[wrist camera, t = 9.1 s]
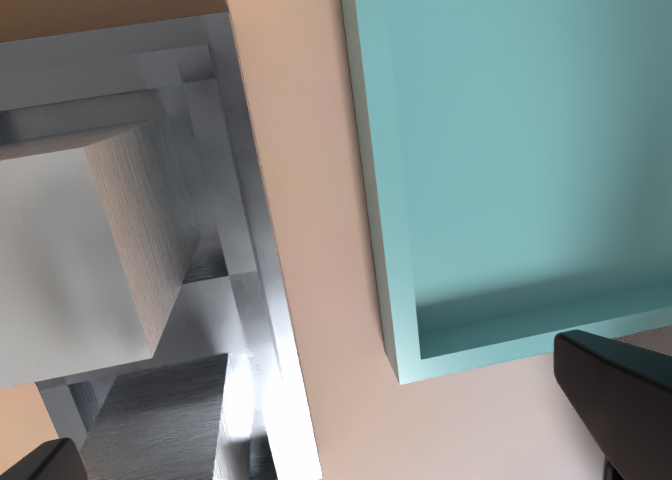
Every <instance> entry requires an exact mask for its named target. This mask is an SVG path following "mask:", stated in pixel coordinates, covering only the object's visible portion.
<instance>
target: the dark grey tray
mask: <svg viewBox="0 0 672 480" xmlns="http://www.w3.org/2000/svg"><path fill="white" fill-rule="evenodd" d="M164 117H168V119H169V123H170V126H171V130H172V134H173V138H174V142H175V146H176V149H177V153H178V157H179V161H180V165H181V169H182V173H183V176H184V180H185V184H186V188H187V192H188V196H189V199H190V203H191V207H192V211H193V215H194V219H195V223H196V226H197V230H198V234H199V238H200V241H199V243H198V246H197V248H196V251H195V253H194V256H193V258H192V261H191V263H190V265H189V268H188V270H187V273H186V275H185V278H184V280H183V283H182V285H181V288H180V290H179V293H178V295H177V298H176V300H175V303H174V305H173V308H172V310H171V313H170V315H169V318H168V320H167V323H166V325H165V328H164V330H163V333H162V335H161V338H160V340H159V343H158V345H157V348H156V350H155V353H154V355H153V358H150V359H145V360H140V361H135V362H130V363H126V364H121V365H116V366H111V367H106V368H101V369H96V370H91V371H86V372H82V373H77V374H72V375H67V376H62V377H57V378H52V379H47V380H42V381H37V382H35V383H36V386H37V388H38V390H39V392H40V395H41V397H42V399H43V402H44V404H45V406H46V409H47V411H48V413H49V415H50V418H51V420H52V422H53V425H54V427H55V429H56V432H57V434H58V436H59V439H60V438H65V437H68V438H71V439H72V440H73V441H74V443H75V445H76V447H77V449H78V452H79V451H80V449H81V447H82V445H83V443H84V441H85V439H86V437H87V435H88V433H89V431H90V429H91V427H92V425H93V423H94V421H95V419H96V417H97V415H98V413H99V411H100V409H101V407H102V405H103V403H104V401H105V399H106V397H107V395H108V393H109V391H110V389H111V387H112V385H113V383H114V381H115V379H116V377H121V376H126V375H131V374H136V373H140V372H145V371H150V370H155V369H160V368H165V367H170V366H175V365H179V364H184V363H189V362H194V361H199V360H204V359H209V358H214V357H218V356H223V355H229V359H230V363H231V367H232V371H233V374H234V378H235V382H236V386H237V390H238V394H239V398H240V401H241V405H242V409H243V413H244V417H245V421H246V425H247V428H248V432H249V436H250V440H251V446H250V476H249V480H315V479H319V478H322V475H321V468H320V461H319V455H318V449H317V444H316V439H315V434H314V429H313V424H312V419H311V414H310V409H309V404H308V399H307V394H306V389H305V384H304V379H303V374H302V369H301V364H300V359H299V354H298V349H297V344H296V339H295V334H294V329H293V324H292V319H291V314H290V309H289V304H288V299H287V294H286V289H285V284H284V279H283V274H282V269H281V264H280V259H279V254H278V249H277V244H276V239H275V234H274V229H273V224H272V219H271V214H270V209H269V204H268V199H267V194H266V189H265V184H264V179H263V174H262V169H261V164H260V158H259V153H258V148H257V143H256V138H255V133H254V128H253V123H252V118H251V113H250V108H249V103H248V98H247V93H246V88H245V83H244V78H243V73H242V68H241V63H240V58H239V53H238V48H237V43H236V38H235V33H234V28H233V23H232V18H231V16H230V13H229V11H226V12H219V13H212V14H205V15H197V16H190V17H183V18H176V19H168V20H161V21H154V22H146V23H139V24H132V25H125V26H117V27H110V28H103V29H96V30H88V31H81V32H74V33H66V34H59V35H52V36H45V37H37V38H30V39H23V40H16V41H8V42H1V43H0V146H2V145H6V144H10V143H14V142H18V141H23V140H27V139H31V138H37V137H44V136H50V135H56V134H63V133H69V132H75V131H81V130H88V129H94V128H100V127H107V126H113V125H119V124H126V123H132V122H138V121H145V120H151V119H157V118H164Z"/></svg>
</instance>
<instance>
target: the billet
mask: <svg viewBox="0 0 672 480" xmlns="http://www.w3.org/2000/svg"><path fill="white" fill-rule="evenodd" d="M199 241H200V238H199V234H198V230H197V226H196V223H195V219H194V215H193V211H192V207H191V203H190V199H189V196H188V192H187V188H186V184H185V180H184V176H183V173H182V169H181V165H180V161H179V157H178V153H177V149H176V146H175V142H174V138H173V134H172V130H171V126H170V123H169V119H168V117H164V118H157V119H151V120H145V121H138V122H132V123H126V124H119V125H113V126H107V127H100V128H94V129H88V130H81V131H75V132H69V133H63V134H56V135H50V136H44V137H37V138H31V139H27V140H23V141H18V142H14V143H10V144H6V145H2V146H0V389H3V388H8V387H13V386H18V385H23V384H28V383H33V382H37V381H42V380H47V379H52V378H57V377H62V376H67V375H72V374H77V373H82V372H86V371H91V370H96V369H101V368H106V367H111V366H116V365H121V364H126V363H130V362H135V361H140V360H145V359H150V358H153V355H154V353H155V350H156V348H157V345H158V343H159V340H160V338H161V335H162V333H163V330H164V328H165V325H166V323H167V320H168V318H169V315H170V313H171V310H172V308H173V305H174V303H175V300H176V298H177V295H178V293H179V290H180V288H181V285H182V283H183V280H184V278H185V275H186V273H187V270H188V268H189V265H190V263H191V261H192V258H193V256H194V253H195V251H196V248H197V246H198V243H199Z"/></svg>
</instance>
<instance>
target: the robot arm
mask: <svg viewBox="0 0 672 480" xmlns="http://www.w3.org/2000/svg"><path fill="white" fill-rule="evenodd" d="M554 374H555V378H556V380H557V382H558V384H559V386H560V387H561V389H562V390H563V392H564V393H565V395H566V396H567V398H568V400H569V401H570V403H571V404H572V406H573V407H574V409H575V410H576V412H577V414H578V415H579V417H580V418H581V420H582V421H583V423H584V424H585V426H586V427H587V429H588V431H589V432H590V434H591V435H592V437H593V438H594V440H595V441H596V443H597V444H598V446H599V447H600V449H601V450H602V452H603V453H604V454H605V456H606V457H607V458H608V460H609V463H608V465H607V476H606V480H672V357H671V356H668V355H664V354H661V353H657V352H654V351H651V350H647V349H644V348H640V347H637V346H633V345H630V344H627V343H623V342H620V341H616V340H613V339H610V338H606V337H603V336H599V335H596V334H592V333H589V332H586V331H582V330H578V329H574V330H569V331H565V332H560V333H557V334H556V335H555V337H554ZM0 480H88V475H87V471H86V468H85V466H84V464H83V461H82V459H81V457H80V454H79V452H78V449H77V447H76V445H75V443H74V441H73V440H72V439H71V438H68V437H65V438H60V439H56V440H51V441H47V442H44V443H42V444H41V445H40V446H38V447H37V448H36V449H34V450H33V451H32V452H30V453H29V454H28V455H26V456H25V457H24V458H22V459H21V460H20V461H19V462H17V463H16V464H15V465H13V466H12V467H11V468H9V469H8V470H7V471H5V472H4V473H3V474H1V475H0Z"/></svg>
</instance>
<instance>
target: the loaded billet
mask: <svg viewBox="0 0 672 480" xmlns="http://www.w3.org/2000/svg"><path fill="white" fill-rule="evenodd" d="M250 446H251V440H250V436H249V432H248V428H247V425H246V421H245V417H244V413H243V409H242V405H241V401H240V398H239V394H238V390H237V386H236V382H235V378H234V374H233V371H232V367H231V363H230V359H229V355H223V356H218V357H214V358H209V359H204V360H199V361H194V362H189V363H184V364H179V365H175V366H170V367H165V368H160V369H155V370H150V371H145V372H140V373H136V374H131V375H126V376H121V377H116V379H115V381H114V383H113V385H112V387H111V389H110V391H109V393H108V395H107V397H106V399H105V401H104V403H103V405H102V407H101V409H100V411H99V413H98V415H97V417H96V419H95V421H94V423H93V425H92V427H91V429H90V431H89V433H88V435H87V437H86V439H85V441H84V443H83V445H82V447H81V449H80V451H79V454H80V457H81V459H82V461H83V464H84V466H85V468H86V471H87V475H88V480H249V476H250Z"/></svg>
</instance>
